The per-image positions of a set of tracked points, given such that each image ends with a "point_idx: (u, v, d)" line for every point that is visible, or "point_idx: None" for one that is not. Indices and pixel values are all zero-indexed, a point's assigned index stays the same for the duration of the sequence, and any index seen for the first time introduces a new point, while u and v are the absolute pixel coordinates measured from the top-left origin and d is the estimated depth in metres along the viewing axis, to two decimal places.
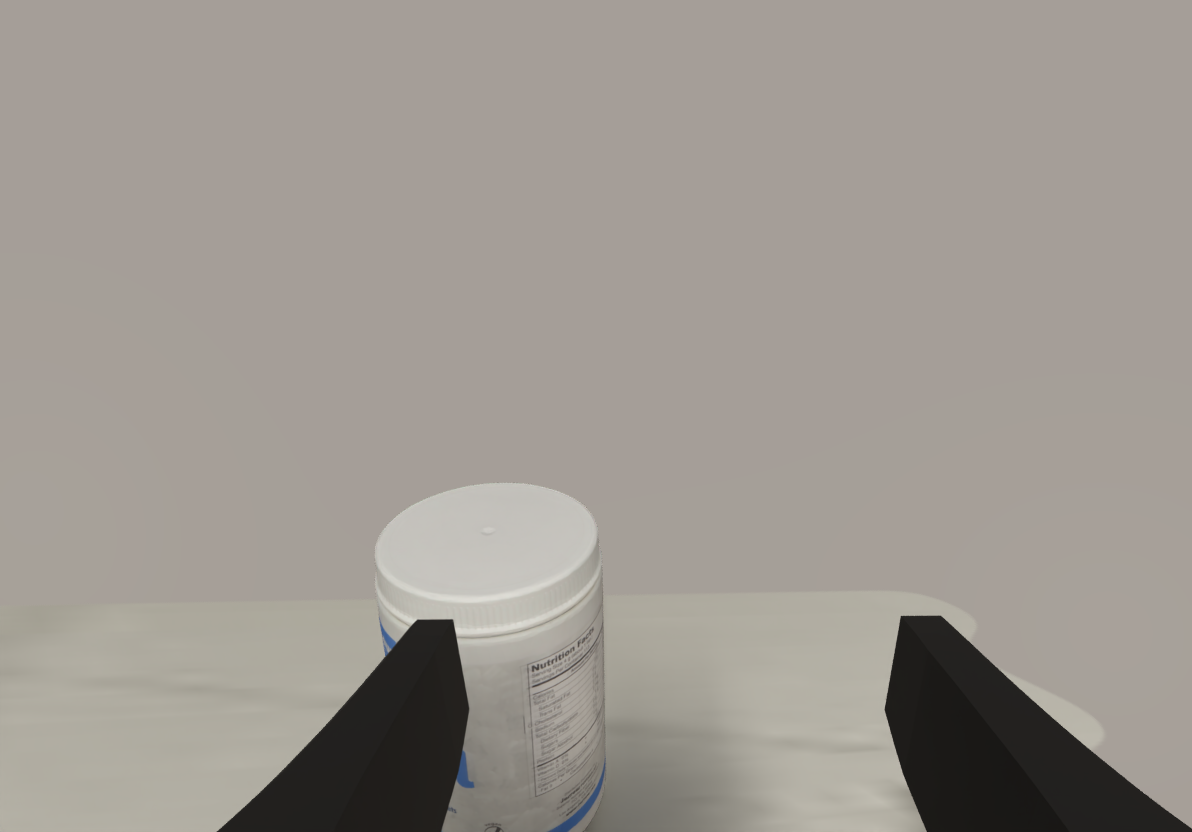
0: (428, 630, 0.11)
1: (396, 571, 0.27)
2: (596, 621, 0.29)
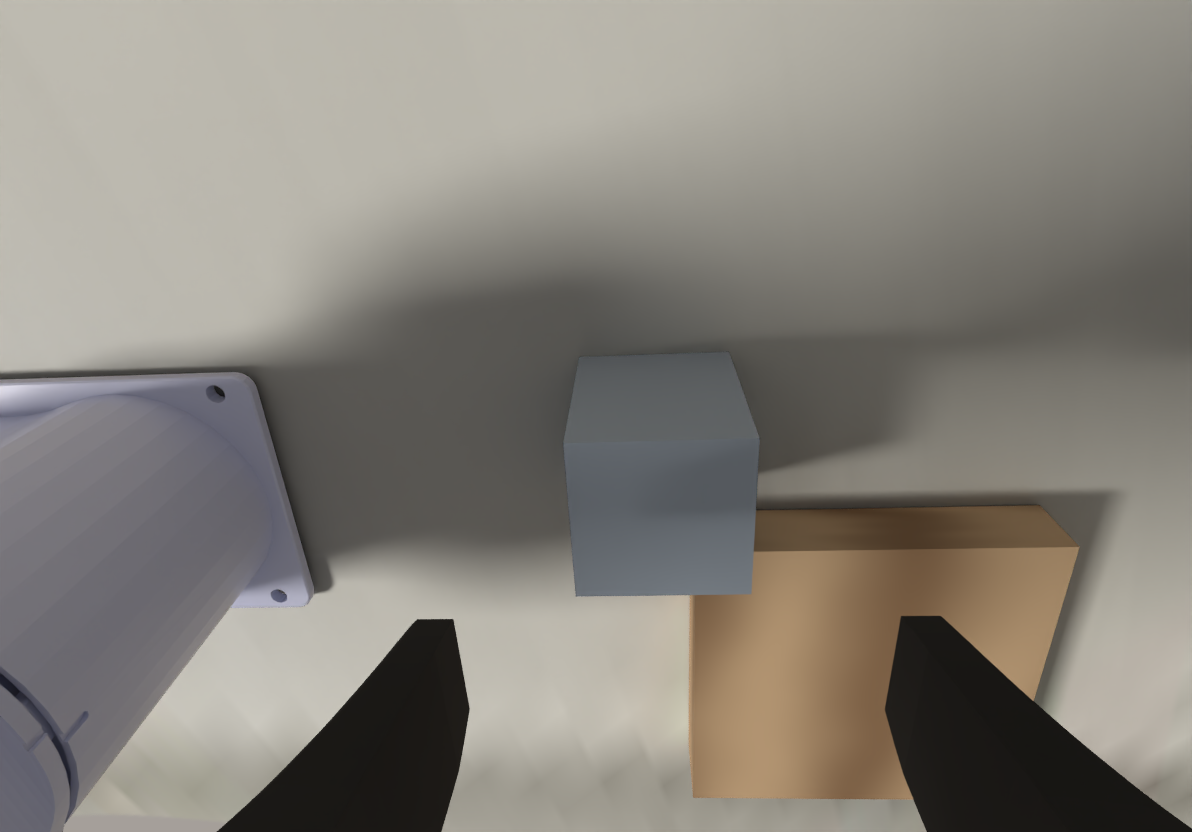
0: (428, 630, 0.11)
1: None
2: None
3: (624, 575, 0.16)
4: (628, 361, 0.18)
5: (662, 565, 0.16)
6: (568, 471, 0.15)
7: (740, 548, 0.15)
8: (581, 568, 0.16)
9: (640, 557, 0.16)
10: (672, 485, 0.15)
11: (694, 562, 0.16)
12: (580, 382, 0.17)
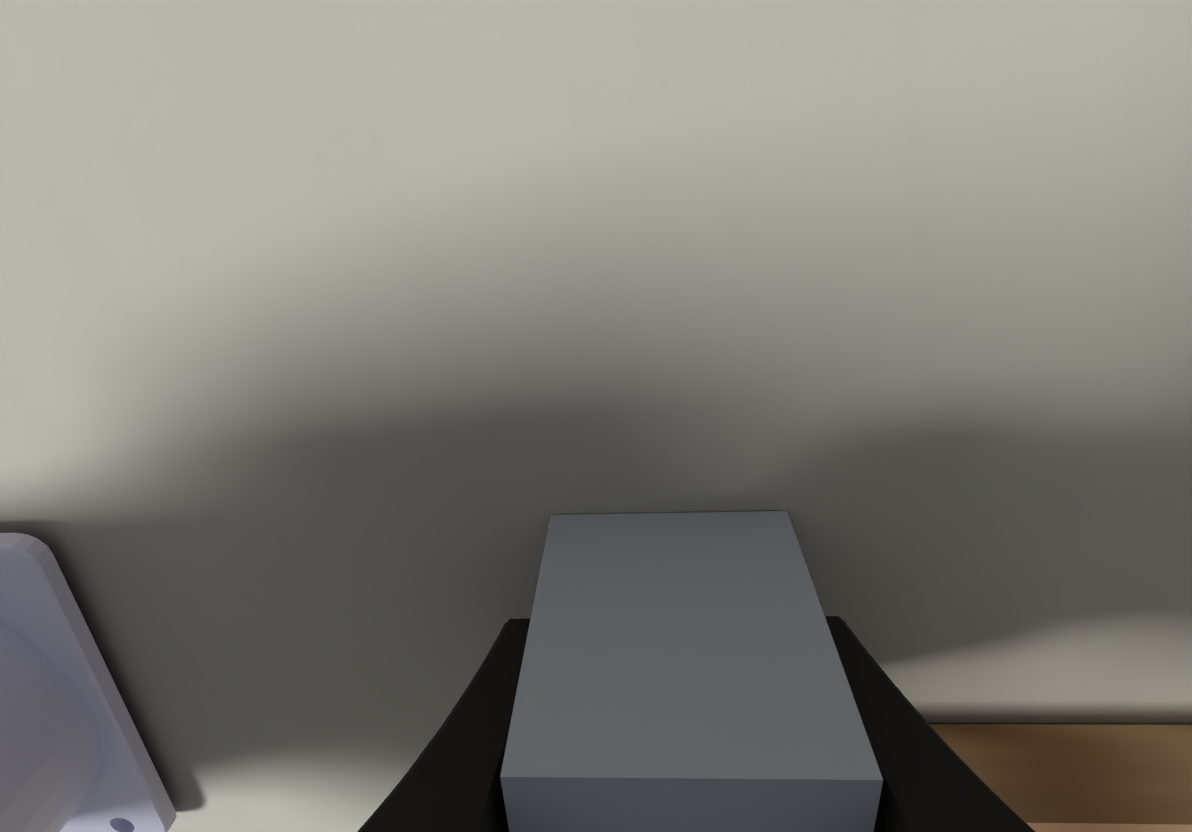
0: (525, 629, 0.11)
1: None
2: None
3: None
4: (627, 531, 0.11)
5: None
6: (512, 818, 0.08)
7: None
8: None
9: None
10: None
11: None
12: (547, 583, 0.10)
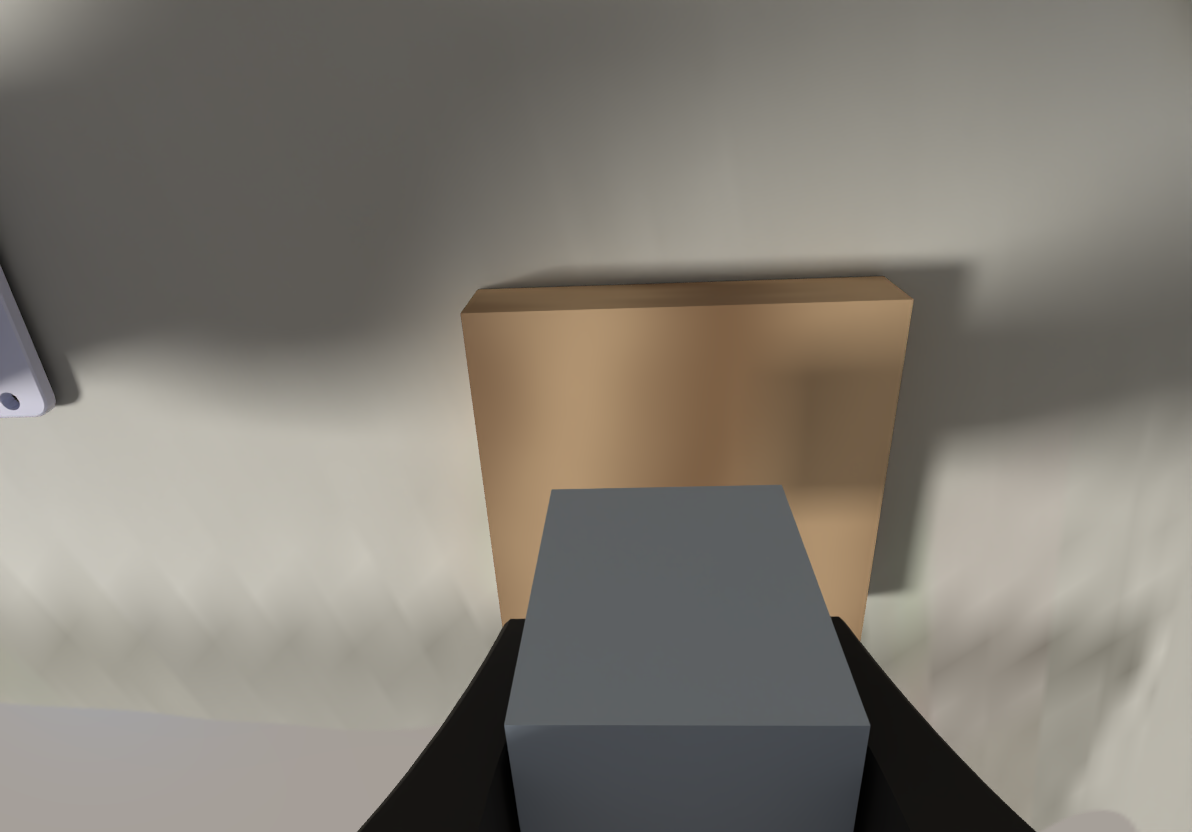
0: None
1: None
2: None
3: None
4: (626, 503, 0.12)
5: None
6: (516, 766, 0.08)
7: None
8: None
9: None
10: (704, 790, 0.08)
11: None
12: (548, 551, 0.11)
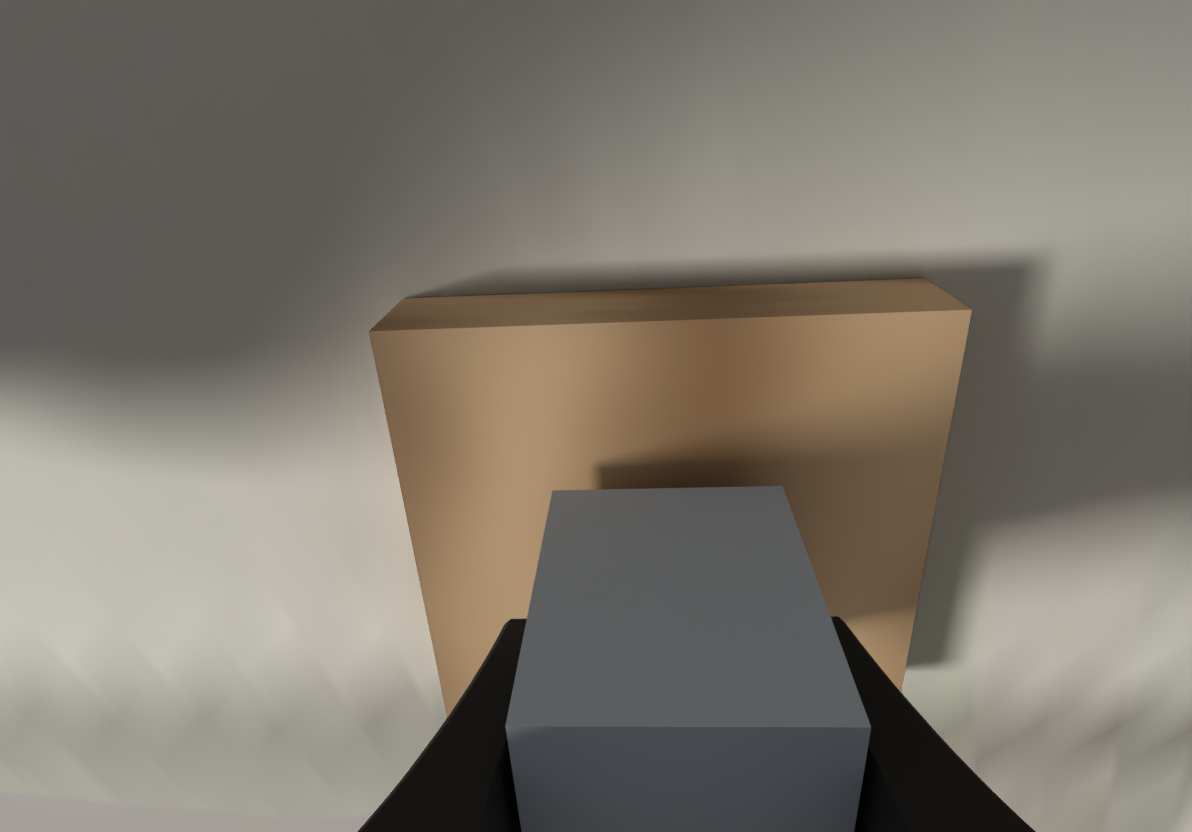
0: None
1: None
2: None
3: None
4: (626, 505, 0.12)
5: None
6: (517, 767, 0.08)
7: None
8: None
9: None
10: (705, 792, 0.08)
11: None
12: (549, 552, 0.11)
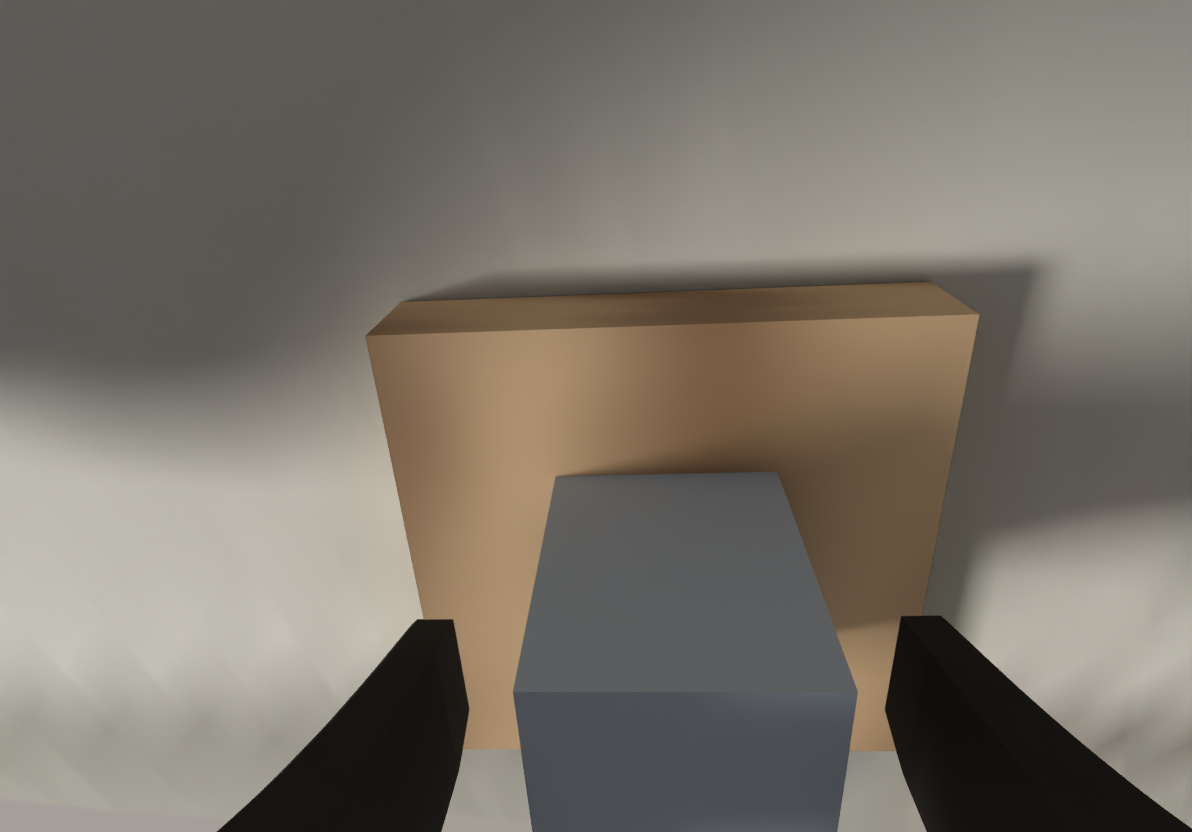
0: (428, 630, 0.11)
1: None
2: None
3: None
4: (627, 490, 0.12)
5: None
6: (523, 732, 0.09)
7: None
8: None
9: None
10: (701, 755, 0.09)
11: None
12: (553, 534, 0.11)
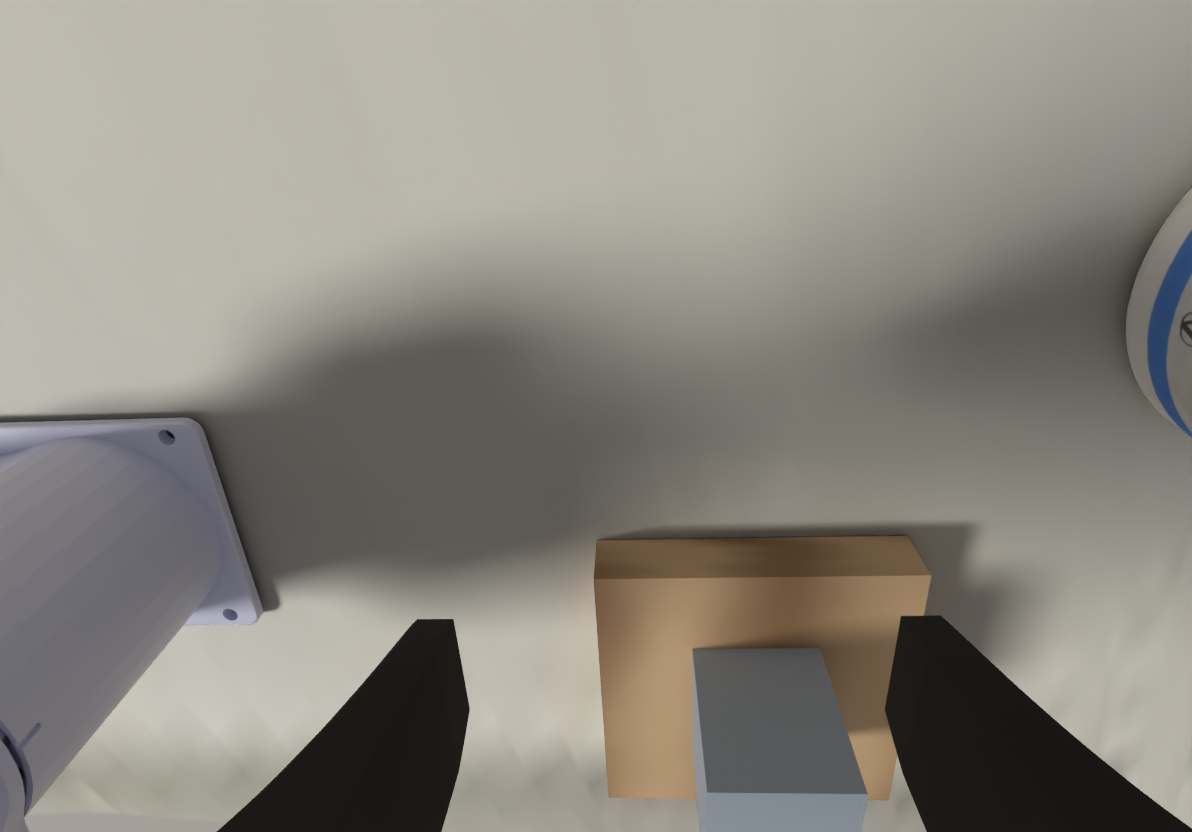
0: (428, 630, 0.11)
1: None
2: None
3: None
4: (736, 660, 0.22)
5: None
6: (709, 810, 0.18)
7: None
8: None
9: None
10: (793, 821, 0.18)
11: None
12: (701, 693, 0.21)
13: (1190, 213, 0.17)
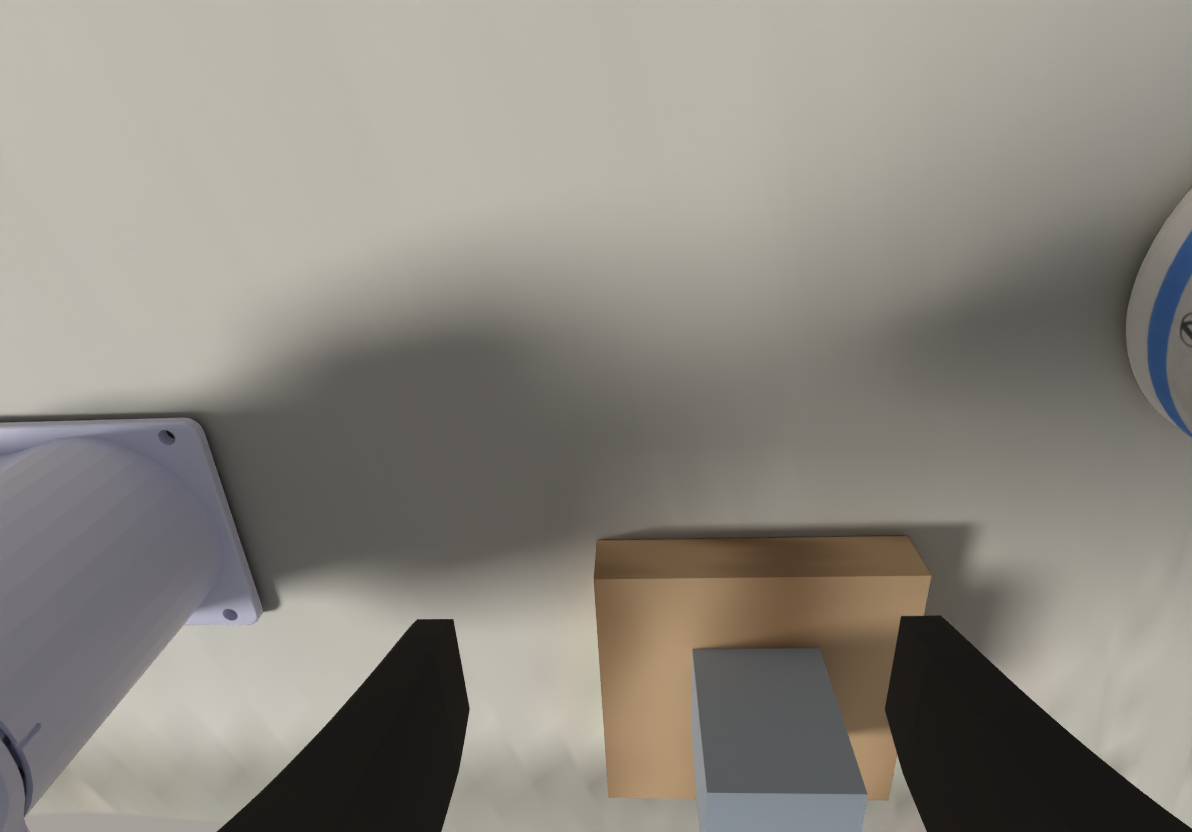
0: (429, 630, 0.11)
1: None
2: None
3: None
4: (736, 661, 0.22)
5: None
6: (709, 810, 0.18)
7: None
8: None
9: None
10: (793, 821, 0.18)
11: None
12: (701, 693, 0.21)
13: (1190, 214, 0.17)
